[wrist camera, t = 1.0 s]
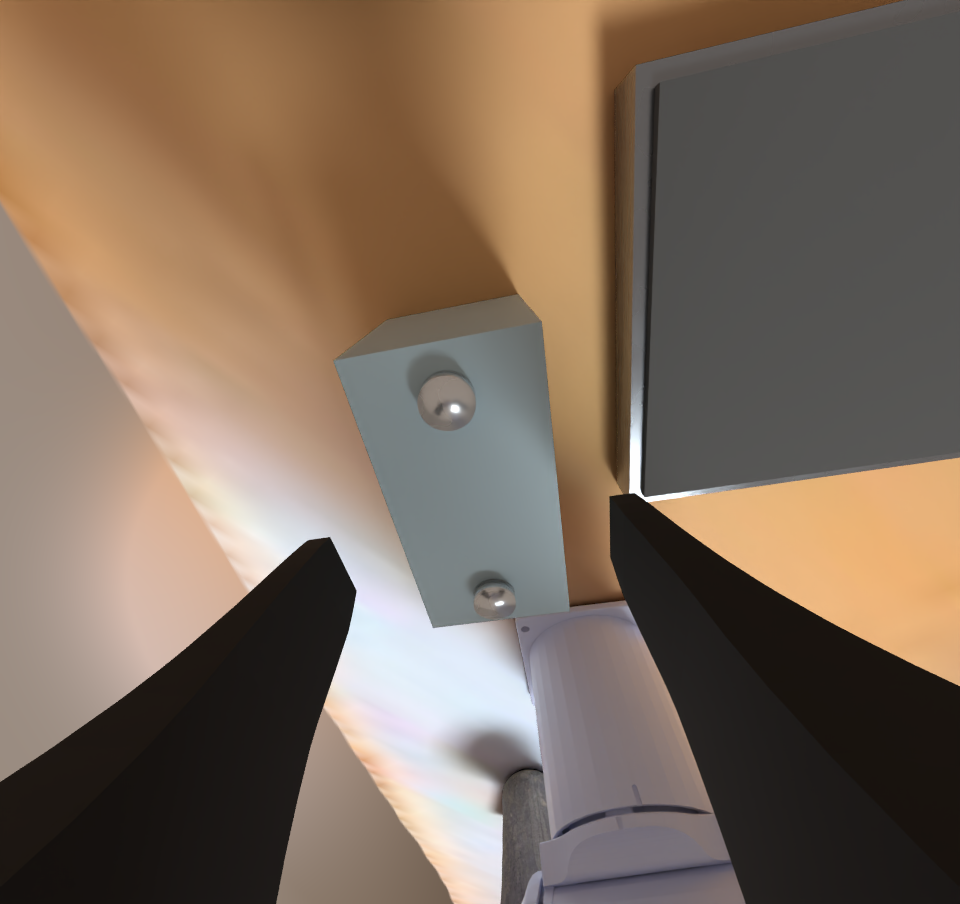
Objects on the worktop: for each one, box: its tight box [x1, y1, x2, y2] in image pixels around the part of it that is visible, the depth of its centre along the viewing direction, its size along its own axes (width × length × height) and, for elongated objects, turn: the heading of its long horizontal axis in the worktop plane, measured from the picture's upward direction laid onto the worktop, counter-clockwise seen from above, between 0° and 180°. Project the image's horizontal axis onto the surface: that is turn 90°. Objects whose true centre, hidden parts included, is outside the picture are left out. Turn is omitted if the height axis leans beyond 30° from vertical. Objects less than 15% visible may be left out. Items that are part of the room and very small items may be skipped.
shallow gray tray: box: [614, 0, 960, 502], centre depth 13 cm, size 14×15×2 cm
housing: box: [334, 294, 570, 628], centre depth 13 cm, size 10×5×6 cm, turn 10°
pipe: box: [501, 769, 551, 904], centre depth 30 cm, size 6×13×8 cm, turn 179°
